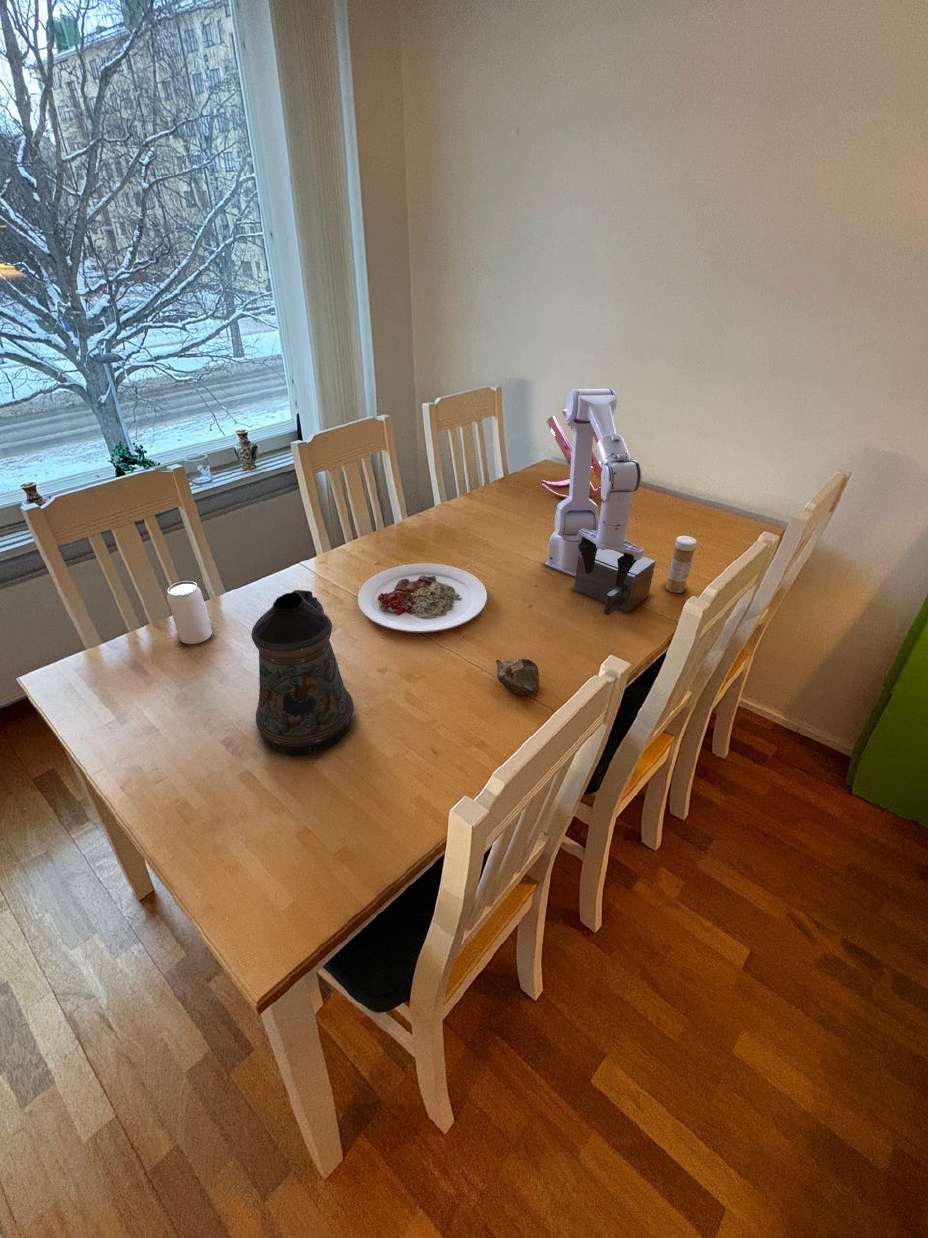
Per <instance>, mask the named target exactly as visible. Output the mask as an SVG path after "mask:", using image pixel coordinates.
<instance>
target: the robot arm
mask: <svg viewBox="0 0 928 1238" xmlns="http://www.w3.org/2000/svg"><path fill="white" fill-rule="evenodd" d="M617 400H618V397H617V393H616V391H615V390H614V388H612V387H609V388H582V389H581V388H579V389H576V388H572V389H570V391H569V392H568V394H567V397H566V407H565V410H566V418H565V424H566V426H568V427H570V426H571V427H572V430H571V432H572V442H571V447H572V455H571V467H570V470H569V471H570V474H569V479H570V485H569V488H568V489H569V490H568V491H569V492H568V495H567V496H568V497H567V498H566V499H565V498H563V500H561V501H560V502H559V503H558V504H557V506H556V512H555V515H554V531H553V532H552V534H551V536H550V538H549V541H548V549H547V559H546V562H545V566H548V567H550V568H553V569H554V570H557V571H560V572H562V573H565V574H568V575H570V576H572V577H576V570H577V562H578V556H579V555H581V554H582V557H583V561H584V566H585V573H586V574H589V573H591V572H592V571H593V569H594V564H595V557H596V553H597V549H598V548H599V549H602V550H606V549H609V550H614V551H617V552H620V553H622V554H624V555H623V556H621V557H620V558H618V560H617V562H618V574H617V579H616V586H620V585H622V584H623V583H624V580H625V578H626V576H627V574H628V572H629V571H630V569H631V567H632V566H633V565H634V563H635V562H636V561H638V560H640V559H641V558H642V557H644V552H645V548H642V547H639V546H638V545H636V544H634V543H633V542H631V541H629V540H628V539H626V534H627V529H628V524H629V517H630V513H631V506H632V501H633V497H634V495H633V494H634V492H638V490H639V488H640V485H641V481H642V468H641V465H640V463H639V461H637V460H636V459H635V458H633V457H631V456H630V453H629V450H628V447H627V444H626V442H625V439H624V437H623V436H622V435H621V434H619V433H617V430H616V427H615V422H614V416H615V413H616V410H617V404H618V401H617ZM594 431H595V433H596V435H597V438H598V440H599V441H598V443H597V442H596V445H595V450H596V455H597V458H598V460H599V461H600V464H601V467H602V472H601V482H600V484H601V485H600V486H601V490H600V497H601V505H600V512H599V507H598V505H597V503H596V502H595V501H593V499H591V498H590V496H589V488H590V482H591V477H590V474H591V461H592V450H593V444H594V437H593V433H594Z"/></svg>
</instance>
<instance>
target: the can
mask: <svg viewBox="0 0 928 1238" xmlns="http://www.w3.org/2000/svg"><path fill="white" fill-rule="evenodd" d="M166 591H167V597H166V598H167V602H168V606H169V608H170V612H171V616H172V619H173V622H174V626H175V628H176V631H177V635H178V637H179V640H180V642H182V643H184V644H186V645H199V644H201V643H203V642H205V641H207V640H209V639H210V637H211V636H212V633H213V629H212V626H211V622H210V619H209V615H208V611H207V608H206V604H205V599H204V597H203V593H202V590H201V589H200V588H199V587H198V584H197V583H196V582H194V581H191V580H185V581H179V582H176V583H173V584H172V585H170V586H169V587H167V590H166Z"/></svg>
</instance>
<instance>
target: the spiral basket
mask: <svg viewBox="0 0 928 1238" xmlns="http://www.w3.org/2000/svg"><path fill="white" fill-rule="evenodd" d="M561 413H562V415H563V417H564V419H566V409H563V410H562V411H561ZM546 423H547V425H548V427H549V430H550V431H551V433H552V435H553V437H554V439H555V441H556V443H557V445H558V447H559V449H560V451H561V452H562V454H563V456H564V458H565V459H566V461H567V463H568V465H569V467H570V468H571V455H572V444H571V443H570V441H569V439H568V438H567V436H566V434H565V432H564V430H563V429H562V427H561V425H560V423H559V422H558V421H557V419H556V417H555V416H554V415H552V416H550V417H549V418H547V420H546ZM569 428H570V430H571V431H572V427H571V426H569ZM593 440H595V442H596V444H597V443H598V441H599V440H598V438H597V435H596V433H595V431H594V433H593ZM596 455H597V454H595V452H594V449H592V461H591V474H590V478H591V477H592V476H594V475H595V476H596V477H597V479H598V480H599V482H600V483H601V472H602V467H601V464H600V460H599V458H598V456H596ZM540 482H541V483H542V484H541V485H542V488H543V489H545V491H547V492H548V493H550V494H552V495H554V496H556V497H558V498H561V499H566V498H567V497H568V496H569V495H565V494H561V493H558V492H556V491H554V490H552V489H551V488H550V487H567V486H570V478H569V479H565V480H561V481H546V480H540ZM548 486H549V487H548ZM599 492H601V485H599V486H598V487H597V488H594V486H593V483H592V482H591V481H590V488H589V497H591V496H594V495H595V494H597V493H599Z"/></svg>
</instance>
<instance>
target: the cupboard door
mask: <svg viewBox="0 0 928 1238" xmlns="http://www.w3.org/2000/svg"><path fill="white" fill-rule="evenodd" d="M617 574H618V569H616V568H614V567H611V566H608V565H606V564H603V563H600V562H598V561H595V564H594V569H593V571H592V572H591V573H589V574H586V573H585V566H584V561H583V557H582V555H579V556H578V562H577V570H576V576H574V577H575V578H574V579H575V580H574V586H573V591H575V592H578V593H581V594H582V595H585V596H587V597H590V598H593V599H594V600H597V601H599V602H602V603H604V604H605V605H604V610H603V614H604V615H606V616H610V615H611V614H612V613H614V612H615V611H616V610H621V611H623V612H626V613H628V612H630V611H629V608H630V603H631V598H632V593H633V588H634V583H635V578H636V576H635V575H632V574H630V573H628V574H627V576H626V578H625V580H624V583H623V584H622V585H620V586H616V579H617Z"/></svg>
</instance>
